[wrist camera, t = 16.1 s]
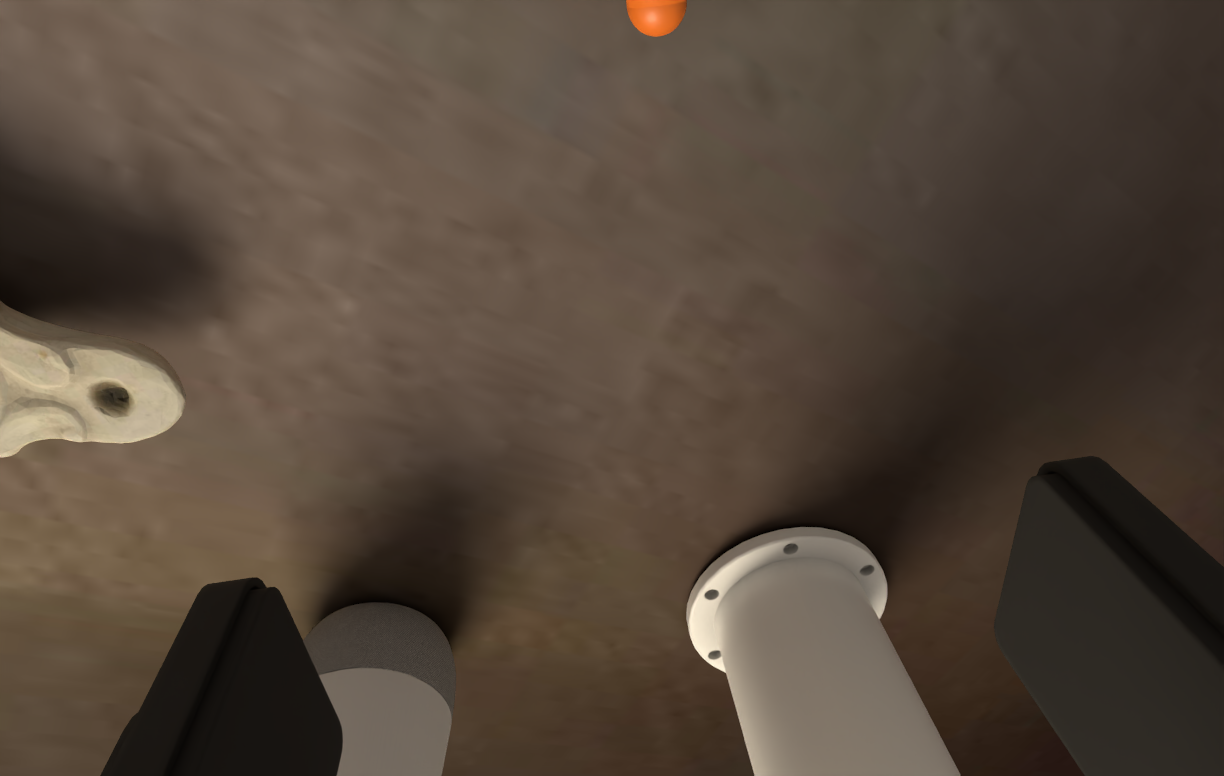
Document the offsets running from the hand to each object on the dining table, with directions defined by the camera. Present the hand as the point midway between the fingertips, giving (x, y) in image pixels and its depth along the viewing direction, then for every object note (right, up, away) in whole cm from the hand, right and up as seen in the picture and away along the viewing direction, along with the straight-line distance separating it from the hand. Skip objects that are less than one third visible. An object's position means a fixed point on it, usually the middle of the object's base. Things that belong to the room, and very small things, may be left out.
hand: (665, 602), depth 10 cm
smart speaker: (-15, -12, +36) cm, 41 cm away
